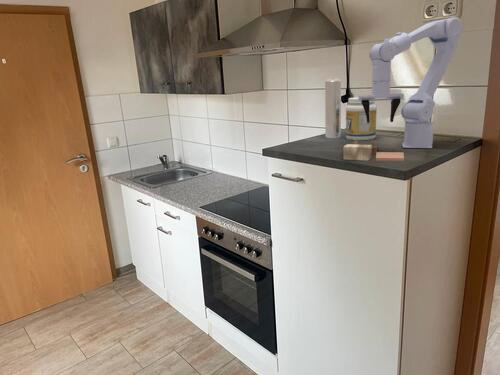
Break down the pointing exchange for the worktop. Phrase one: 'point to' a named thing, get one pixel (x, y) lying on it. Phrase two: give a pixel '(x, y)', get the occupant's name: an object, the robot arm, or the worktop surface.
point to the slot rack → (374, 147)
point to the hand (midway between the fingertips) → (379, 122)
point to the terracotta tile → (389, 156)
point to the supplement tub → (360, 121)
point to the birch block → (357, 152)
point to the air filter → (332, 108)
